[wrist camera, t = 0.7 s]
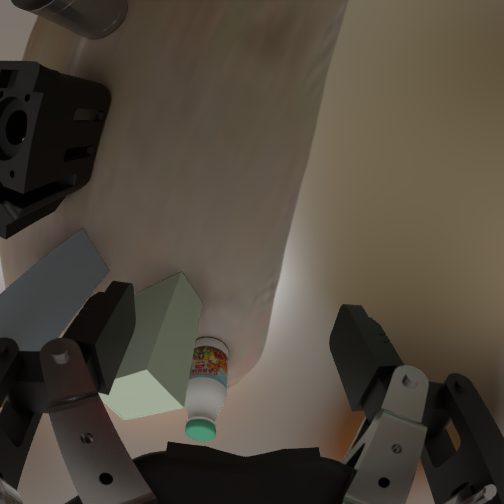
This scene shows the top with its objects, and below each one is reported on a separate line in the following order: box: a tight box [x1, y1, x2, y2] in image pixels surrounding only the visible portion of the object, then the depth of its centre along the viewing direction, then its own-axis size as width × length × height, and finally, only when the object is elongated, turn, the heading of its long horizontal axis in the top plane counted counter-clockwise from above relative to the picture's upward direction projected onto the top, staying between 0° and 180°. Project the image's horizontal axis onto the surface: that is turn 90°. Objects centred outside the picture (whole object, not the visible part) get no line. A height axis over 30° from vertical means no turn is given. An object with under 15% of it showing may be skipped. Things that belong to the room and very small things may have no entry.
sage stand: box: [98, 272, 203, 420], centre depth 40 cm, size 10×7×23 cm
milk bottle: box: [185, 337, 229, 441], centre depth 46 cm, size 8×8×20 cm
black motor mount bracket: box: [0, 61, 110, 239], centre depth 29 cm, size 12×21×22 cm, turn 159°
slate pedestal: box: [0, 228, 110, 351], centre depth 33 cm, size 14×9×32 cm, turn 116°
